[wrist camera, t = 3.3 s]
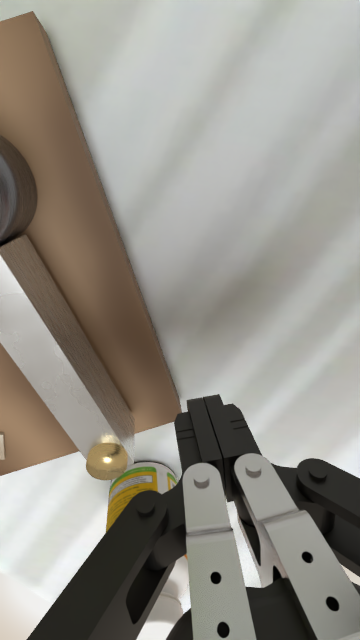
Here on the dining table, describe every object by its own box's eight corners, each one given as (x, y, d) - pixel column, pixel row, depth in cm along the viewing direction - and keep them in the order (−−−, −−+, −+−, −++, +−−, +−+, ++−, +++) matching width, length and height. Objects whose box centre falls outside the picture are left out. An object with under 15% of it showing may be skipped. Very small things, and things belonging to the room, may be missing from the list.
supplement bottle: (97, 496, 26) (77, 662, 17) (131, 450, 24) (127, 606, 15) (155, 514, 27) (164, 673, 19) (190, 472, 26) (217, 624, 17)
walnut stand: (46, 32, 14) (31, 8, 12) (179, 399, 23) (183, 421, 21) (-236, 123, 14) (-299, 114, 12) (5, 454, 23) (-8, 481, 21)
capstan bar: (-115, 150, 13) (-245, 136, 9) (-6, 102, 13) (-81, 61, 9) (83, 433, 20) (68, 506, 16) (156, 404, 20) (162, 470, 16)
